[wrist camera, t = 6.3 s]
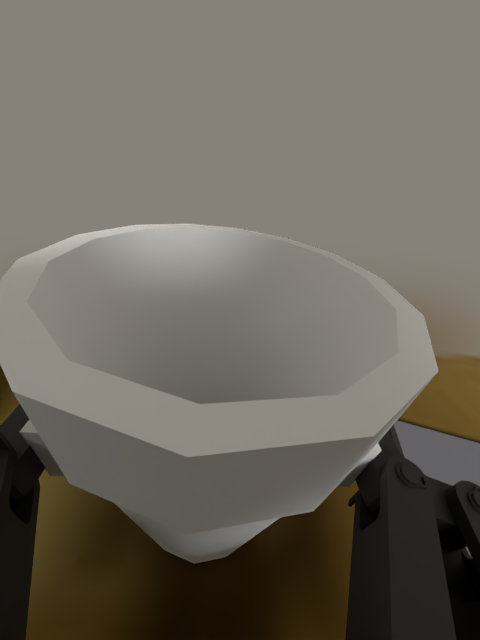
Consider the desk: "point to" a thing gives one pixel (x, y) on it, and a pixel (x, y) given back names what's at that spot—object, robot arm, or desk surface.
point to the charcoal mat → (438, 453)
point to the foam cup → (207, 373)
